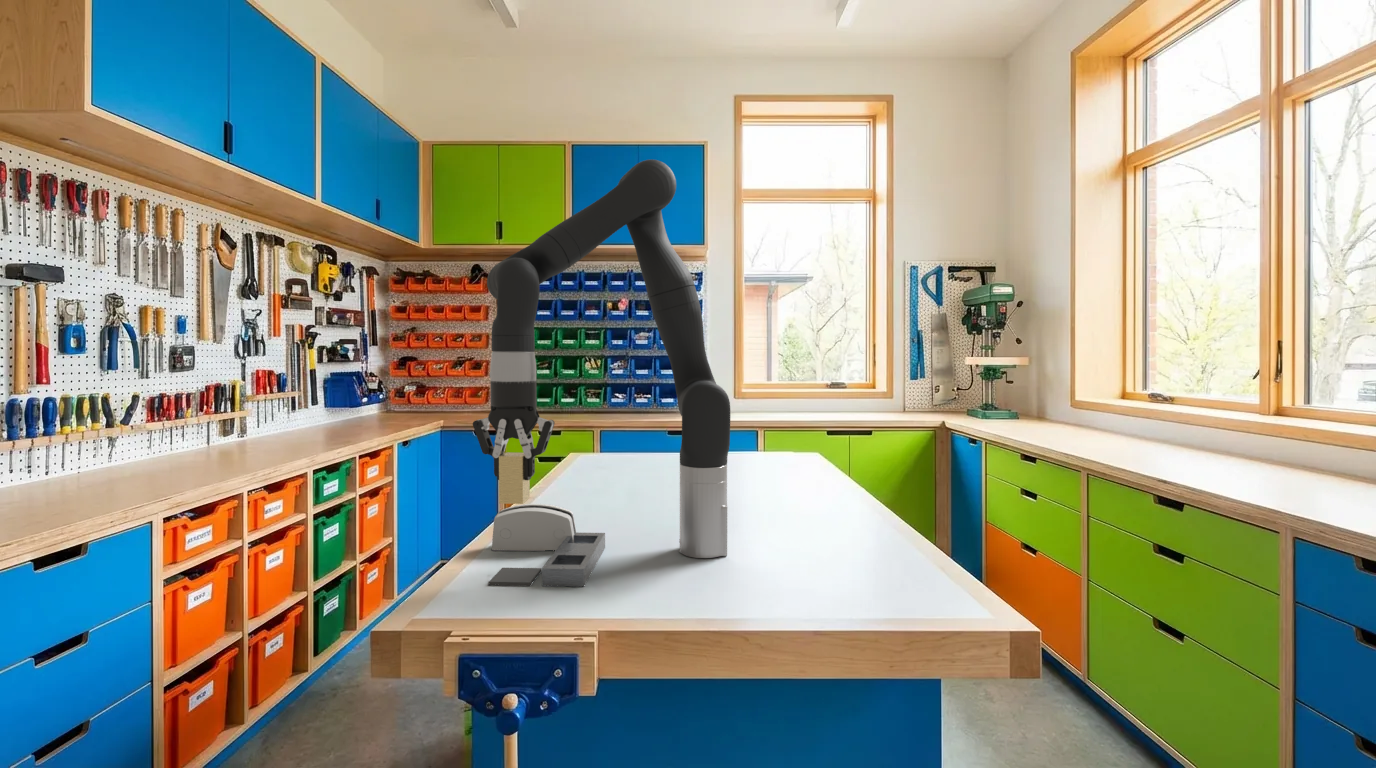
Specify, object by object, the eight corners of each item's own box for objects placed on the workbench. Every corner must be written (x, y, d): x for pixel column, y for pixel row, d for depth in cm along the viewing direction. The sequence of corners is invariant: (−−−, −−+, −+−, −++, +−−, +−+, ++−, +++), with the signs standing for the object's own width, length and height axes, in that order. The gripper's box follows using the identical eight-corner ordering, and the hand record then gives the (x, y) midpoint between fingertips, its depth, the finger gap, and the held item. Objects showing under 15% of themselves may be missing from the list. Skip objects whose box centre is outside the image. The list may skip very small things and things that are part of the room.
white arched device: (579, 547, 129) (578, 500, 127) (576, 558, 125) (574, 510, 123) (497, 546, 129) (495, 500, 127) (490, 557, 124) (487, 509, 122)
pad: (541, 571, 113) (541, 568, 113) (530, 586, 106) (530, 582, 106) (502, 570, 113) (502, 567, 113) (488, 585, 106) (488, 581, 106)
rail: (605, 547, 126) (605, 532, 126) (583, 586, 105) (583, 569, 105) (570, 547, 127) (570, 532, 126) (542, 586, 106) (541, 568, 105)
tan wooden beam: (529, 498, 111) (529, 452, 110) (522, 503, 107) (522, 456, 106) (506, 498, 111) (506, 452, 110) (499, 503, 107) (498, 456, 106)
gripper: (560, 378, 111) (560, 475, 112) (480, 377, 112) (481, 474, 112) (549, 380, 104) (550, 484, 104) (463, 379, 104) (464, 483, 105)
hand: (514, 478), depth 108 cm, fingers closed on tan wooden beam, 4 cm apart
